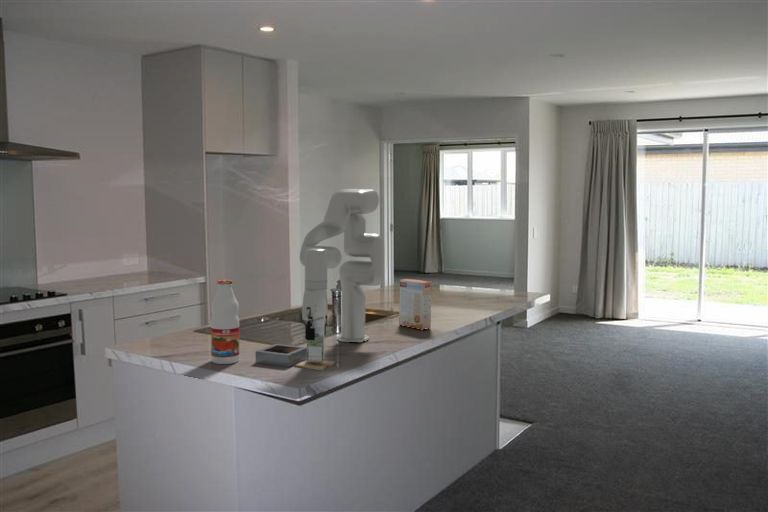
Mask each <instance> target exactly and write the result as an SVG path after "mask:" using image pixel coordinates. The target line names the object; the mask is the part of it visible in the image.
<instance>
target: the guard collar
mask: <svg viewBox="0 0 768 512" xmlns="http://www.w3.org/2000/svg"><path fill="white" fill-rule="evenodd" d="M305 360H307V346H300V345H299V346H297V345H289V344H282V343H274V344H271V345H268V346H266V347H263V348H261V349H258V350H255V364H262V365H267V366H268V365H269V366H274V367H275V366H277V367H285V368H291V367H292V366H295V365H296V364H298V363H300V362H303V361H305Z"/></svg>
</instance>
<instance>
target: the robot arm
mask: <svg viewBox="0 0 768 512" xmlns="http://www.w3.org/2000/svg"><path fill="white" fill-rule="evenodd" d="M379 203H380V197H379V194H378V192H377V191H376V190H375V189H371V188H369V189H367V188H366V189H365V188H360V189H359V188H343V189H338V190H337V191H335V192H333V193H332V195H331V197H330V200H329V202H328V205H327V209H326V211H325V215H324V218H323V220H322V221H321V222H319V223H318V224H316V225H315V226H314V227H313V228H312V229H311V230H310V231H309V232H307V234H306V235H305V237H304V239H303V242H302V245H301V247H300V251H299V261H300V263H301V265H302V266H303V267H304V292H303V297H302V298H303V299H302V309H301V316H302V322H303V325H304V328H305V329H304V331H305V333H304V335H305V341H307V340H314V339H315V328H313V327H314V323H315V320H318V319H320V318H323V317H325V334H324V337H325V336H326V334H327V330H326V329H327V318H328V314H329V309H328V308H329V307H328V293H327V290H328V269H335V268H338V266H339V265H340V264H341V265H340V266H339V281H340V288H341V289H340V290H341V303H340V304H341V311H340V313H341V314H340V315H341V317H340V318H341V319H340V324H341V325H340V334H338V335H337V337H336V339H337V341H339V342H343V343H349V342H358V343H363V341H365V342H367V340H368V341H369V338H370V336H369V335H367V334H366V332H367V331H368V327H367V326H366V293H365V291H364V290H363V288H362V287H361V286H373V287H374V286H375V287H377V286H380V285H382V283H383V281H384V275H385V271H384V270H385V242H384V238H383V237H382V235H380V234H377V233H367V231H366V229H367V227H366V226H367V225H366V223H367V222H366V219H365V217H364V215H365V214H369V213H373V212H375V211H376V210H377V209H378V206H379ZM342 234H343V251H344V254H345V255H346V256H347V257H350V258H362V259H363V258H365V259H366V258H367V259H370V261H369V260H367V261H366V260H345V261H343V262H342V263H341V261H342V253H341V251H340V249H339V248H337V247H335V246H327V245H326V246H323V245H318V244H320V243H322V242H323V241H325V240H328V239H331V238H334V237H336V236H339V235H342ZM309 318H312V319H309ZM310 321H312V323H310Z"/></svg>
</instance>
